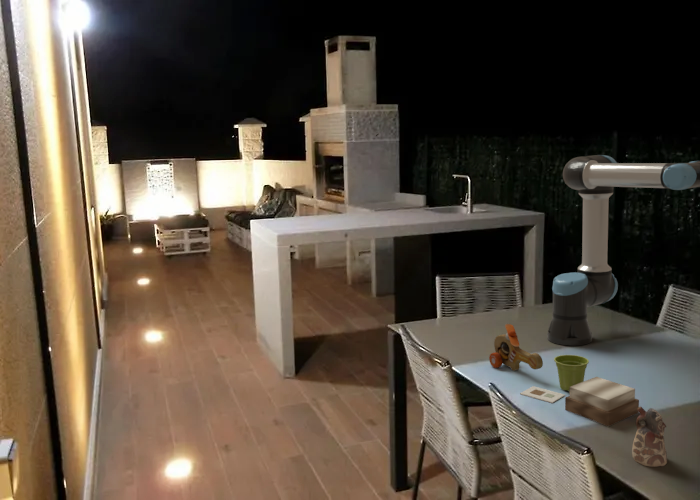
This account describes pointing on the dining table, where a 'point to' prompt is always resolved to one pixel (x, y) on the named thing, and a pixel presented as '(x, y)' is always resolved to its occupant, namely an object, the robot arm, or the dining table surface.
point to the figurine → (649, 439)
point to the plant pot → (570, 370)
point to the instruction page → (542, 394)
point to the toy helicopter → (512, 352)
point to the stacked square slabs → (602, 401)
